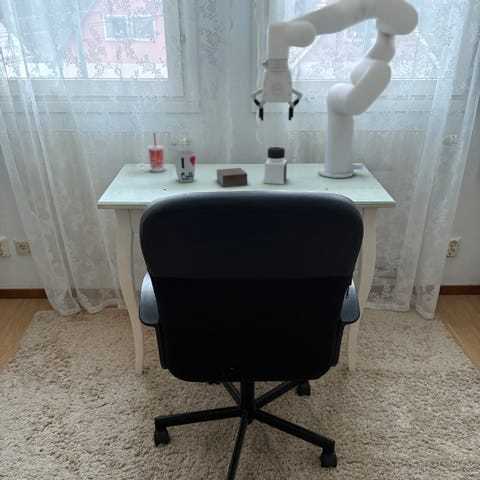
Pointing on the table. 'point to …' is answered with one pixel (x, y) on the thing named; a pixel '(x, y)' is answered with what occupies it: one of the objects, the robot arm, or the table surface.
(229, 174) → the walnut block
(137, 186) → the table surface
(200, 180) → the table surface
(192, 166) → the cup
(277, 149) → the medicine bottle
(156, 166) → the beverage cup
